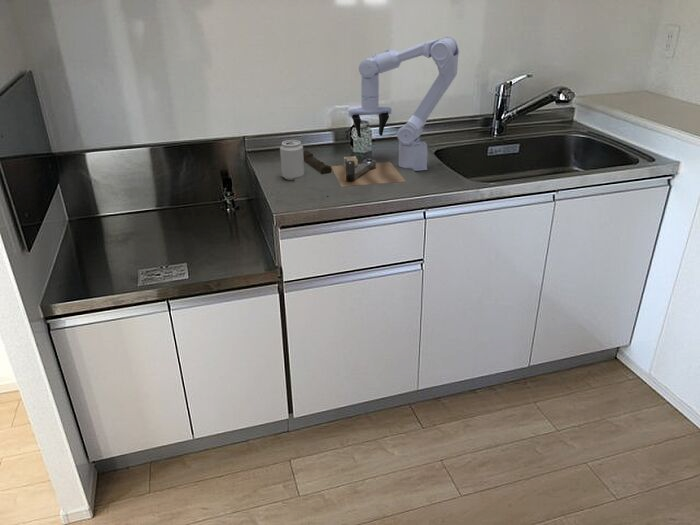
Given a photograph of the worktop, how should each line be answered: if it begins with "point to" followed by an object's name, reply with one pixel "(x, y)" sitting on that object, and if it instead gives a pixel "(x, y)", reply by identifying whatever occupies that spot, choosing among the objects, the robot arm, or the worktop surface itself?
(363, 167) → the lever
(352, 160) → the beige cylinder plug
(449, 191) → the worktop surface
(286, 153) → the can
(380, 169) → the board
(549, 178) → the worktop surface
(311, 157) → the hand tool
